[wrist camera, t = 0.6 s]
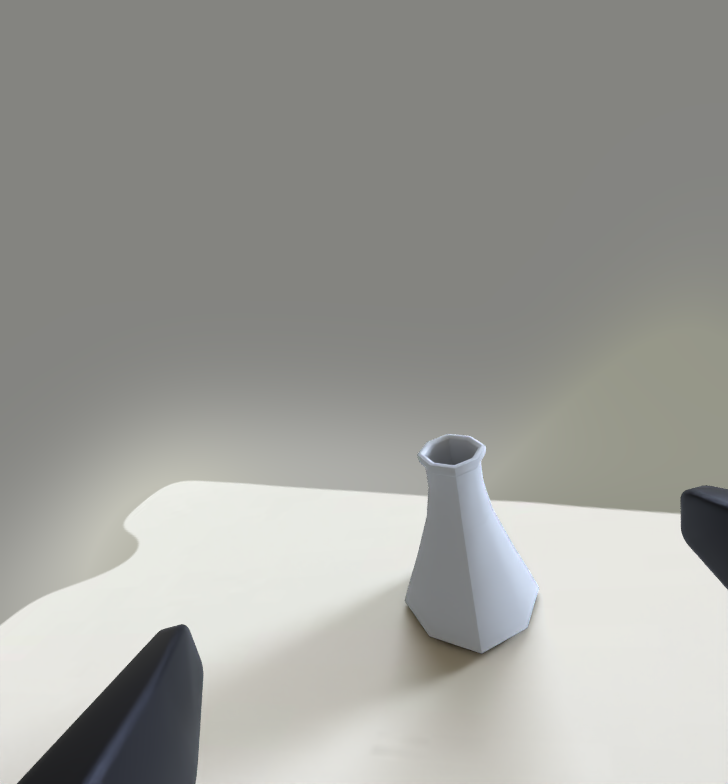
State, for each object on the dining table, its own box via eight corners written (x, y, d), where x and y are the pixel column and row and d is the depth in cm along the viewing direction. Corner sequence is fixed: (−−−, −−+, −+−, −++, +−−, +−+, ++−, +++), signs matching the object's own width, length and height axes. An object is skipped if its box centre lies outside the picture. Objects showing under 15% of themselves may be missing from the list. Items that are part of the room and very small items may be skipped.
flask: (383, 606, 29) (350, 462, 25) (460, 538, 33) (441, 405, 29) (486, 680, 24) (464, 513, 20) (562, 589, 28) (556, 435, 24)
